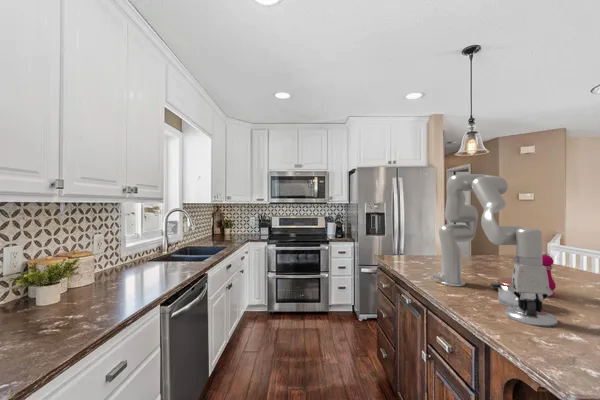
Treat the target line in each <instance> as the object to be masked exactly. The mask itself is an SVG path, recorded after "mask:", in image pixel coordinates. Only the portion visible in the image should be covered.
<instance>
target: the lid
mask: <svg viewBox="0 0 600 400" xmlns="http://www.w3.org/2000/svg"><path fill="white" fill-rule="evenodd" d="M524 300H525V301H526V311H523V310H521V309H520V307H509V306H507V307H506V308H505V311H504V313H505V316H506V317H508V318H509V319H511V320H513V321H515V320H516V322H518V321H519V322H518V323H521V322H522V323H521V324H526V325H529V324H530V326H534V325H536V326H535V327H541V326H542V328H543V327H546V328H552V327H551V326H553V327H556V326H558V318H557V316H555V315H553V314H551V313H549V312H546V311H544V310H541V312H538V311H537V301H535V300H532V299H524Z"/></svg>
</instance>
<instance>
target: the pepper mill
mask: <svg viewBox="0 0 600 400" xmlns="http://www.w3.org/2000/svg"><path fill="white" fill-rule="evenodd" d="M553 264H554V258H553V257H551V256H549V255H548V252H547V251H542V265H543V266H545V267H546V270H547V275H548V281H549V288H550V289H551V290H552V292H553V294H552V295H550V296H549V297H551V298H552V297H555V291H554V290H555V289H556V283H555V281H554V278H553V276H552V270H553V266H552V265H553Z"/></svg>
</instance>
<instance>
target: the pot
mask: <svg viewBox="0 0 600 400" xmlns="http://www.w3.org/2000/svg"><path fill="white" fill-rule="evenodd" d="M511 283H512V278H505V277H503V278H498V279H497V280H496V283H495V282H490V286H491V287H492V288H495V287H497V288H498V291H497V293H498V300H497V301H498V302H499V303H500V304H501V305H504V306H507V307H509V306H510V307H519V305H518V297H517V296H516V295H515V294H513V293H512V292H510V291H509V290H508V289H507V288H508V287H509V286H510V285H511ZM514 290H515V291H516V292H518V291H517V290H516V289H514ZM524 299H532V300H534V299H536V296H535V293H525V296H524Z"/></svg>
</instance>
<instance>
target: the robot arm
mask: <svg viewBox="0 0 600 400" xmlns="http://www.w3.org/2000/svg"><path fill="white" fill-rule="evenodd" d="M508 188H509V185H508V182H507V180H506V179H505V178H503V177H502V176H496V175H490V174H484V173H483V174H481V173H479V174H478V173H475V174H474V173H459V174H453V175H451V176H450V177H449V178H448V179H447V182H446V193H447V194H446V202H445V203H446V204H445V210H444V219H445V221H447V222H448V223H449V224H444V225H442V226H440V228H439V229H438V235H439V236H438V237H439V241H440V248H441V249H440V256H441V261H440V262H441V270H440V271H441V272H440V273H439V274H433V273H432V274H431V278H432V279H436V280H438V283H440V284H441V285H445V286H449V287H463V286H465V285H466V282H465V281H464V280H462V278H463V275H462V272H463V271H462V268H463V267H462V249H461V247H460V245H459V244H458V243H467V242H468V243H469V242H471V241H473V240H474V239H475V236H476V230H477V225H478V221H479V220H478V219H479V213H478V209H477V208H476V207H475V206H474V205H471V204H466V195H465V193H464V192H474V193H473V194H474V195H475V196H476V199H477V200H478V202H479V204H480V206H481V207H482V209H483V212H482V215H481V220H480V221H481V222H480V223H481V228H482V230H483V232H484V234H485V236H486V237H487V239H488V240H489V242H490V243H492V244H493V245H494V246H495V245H496V246H515V247H516V255H515V257H511V260H512V262H515V263H514V265H513V270H512V277H511V279H512V283H511V285H510V286H509V287H508V288H507V289H508V290H509V291H510V292H512V293H513V294H515V295H516V296H517V297H518V305H519V307H520V309H521V310H523V311H526V301H525V300H524V296H525V293H535V296H536V299H534V300H535V301H537V311H538V312H541V311H542V309H543V302H544V300H545V299H546V298H548V297H550V295H552V294H553V292H552V290H551V289H550V288H549V281H548V275H547V270H546V267H545V266H543V265H542V255H543V254H542V253H543V234H542V231H541V230H540V228H539V229H538V228H529V227H523V226H517V225H515V226H513V225H512V226H511V225H502V226H501V225H500V226H499V224H498V222H497V220H496V219H495V213H499V212H500V211H501V210H503V209H504V208H505V206H506V204H507V203H506V200H505V199H504V197H503V196H502V195H504V194H506V193H507V191H508ZM454 223H455V224H454ZM458 223H460V224H458ZM514 289H516V290H517V291H518V292H516V291H515V290H514Z"/></svg>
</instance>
